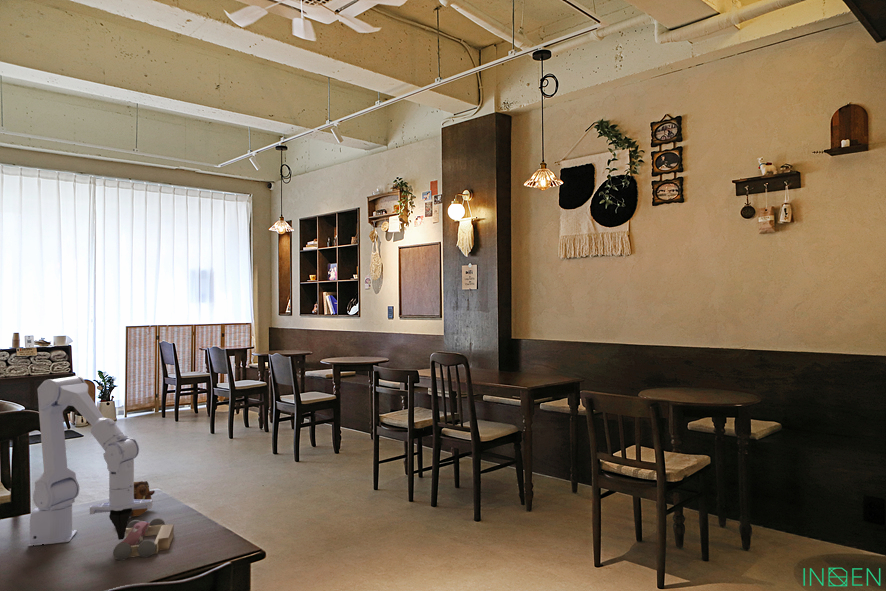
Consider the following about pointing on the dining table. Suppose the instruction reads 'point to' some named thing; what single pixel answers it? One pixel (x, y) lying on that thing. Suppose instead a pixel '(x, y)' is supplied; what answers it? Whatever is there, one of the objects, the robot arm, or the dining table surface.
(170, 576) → the dining table surface
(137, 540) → the pink toy figure
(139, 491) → the wooden carving
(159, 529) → the chassis
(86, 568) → the dining table surface
